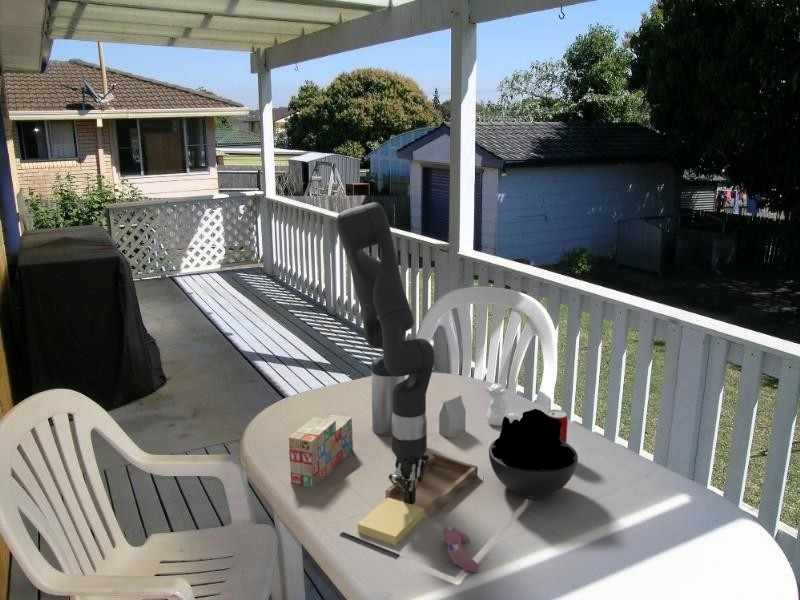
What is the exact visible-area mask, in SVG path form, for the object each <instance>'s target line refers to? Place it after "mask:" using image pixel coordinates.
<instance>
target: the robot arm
mask: <svg viewBox="0 0 800 600" xmlns="http://www.w3.org/2000/svg"><path fill="white" fill-rule="evenodd" d="M336 225H337V232H338V235H339V238H340V241H341V244H342V246H343V250H344V253H345V255H346V258H347V260H348V261H347V262H348V264H349V267H350V273H351V276H352V277H351V278H352V283H353V286H354V290H355V291H354V292H355V295H356V298H357V300H358V304H359V307H360V311H361V315H362V322H363V329H364V334H365V335H364V336H365V340H366V342H367V344H368V346H370V347H371V348H377V349H382V355H381V356H379V357H376V358H375V359H373V360H372V361H371V366H370V367H371V371H370V372H371V415H372V417H371V418H372V420H371V421H372V425H371V426H372V432H374V433H376V434H378V435H382V436H391V451H392V453H393V454H394V456H395V457H396V460H395V464H394V466H395V471H394V473H389V475H388V480H389V481H390V482H391V484H392V485H394V486H395V487H396V488H397V489H398V490H402V491H403V502H405V503H408V504H411V505H413V504H414V503H415V498H416V487H417V485H418V481H419V482H421V480H422V477H423V474H424V471H425V468H426V465H427V462H428V459H429V457H430V456H429V455H428V454H426V452H427V450H428V440H427V439H428V431H427V430H428V419H427V418H428V417H427V400H426V399H427V391H428V388H429V384H430V380H431V377H432V373H433V369H434V366H435V358H436V357H435V351H434V348H433V345H432V344H431V343H430V342H429V340H427V339H425V338H414V339H408V340H406V339H407V338H406V337H407V335H406V334H407V331H409V330H411V329H412V328H413V326H414V323H415V318H414V315H413V312H412V309H411V307H410V303H409V301H408V298H407V295H406V292H405V289H404V284H403V282H402V277H401V272H400V266H399V262H398V257H397V251H396V247H395V244H394V239H393V236H392V231H391V228H390V227H391V226H390V223H389V220H388V217H387V214H386V211H385V210H384V208H383V206H382V204H380V203H379V202H376V201H375V202H374V201H373V202H370V203H366V204H362V205H358V206H356V207H351V208H347V209H345V210H343V211H341V212H339V213H338V215H337V219H336ZM375 245H376V246H377V245H380V246H379V247H380V257H381V258H380V260H379V259H376V258H375V257H373V256H371V255H370V254H368V253H367V252H365V251H364V250H363V249H366V248H369V247H372V246H375ZM406 376H407V378H406Z"/></svg>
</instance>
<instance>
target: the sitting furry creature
mask: <svg viewBox="0 0 800 600" xmlns="http://www.w3.org/2000/svg"><path fill="white" fill-rule="evenodd" d="M485 390H486V392H487V393H489V394H488V395H489V396H490V397H491V398H492V399H491V401H490V402H489V408H488V410H487V413H486V421H487V423H488V424H489V425H490V426H492V425H493V427H500V426H501V427H502V421H503V418H504V417H507V418H509V421H510V423H512V422H513V420H516V419H517V420H519V421H520V416H519V415H518V414H515V413H513V412H511V413H509V414H507V408H508V403H506V400H505V396H506V391H505V388H504V387H503V386H502V384H501V383H493V384H491V386H485Z"/></svg>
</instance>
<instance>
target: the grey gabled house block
mask: <svg viewBox="0 0 800 600" xmlns="http://www.w3.org/2000/svg"><path fill="white" fill-rule="evenodd" d="M466 413H467V411H466V408H465V405H464V402H463V398H462V395H457V396H455V397H453V398H450V399H448V400H445V401H443V404H442V406H441V409H440V411H439V414H438V415H439V418H438V419H439V420H438V423H439V424H438V425H439V426H438V434H439V435H441V436H443V437H446V438H448V439H450V438H451V437H454V436H456V435H459V434H461V433H462V432H465V431H466V415H467V414H466Z"/></svg>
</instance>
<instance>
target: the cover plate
mask: <svg viewBox="0 0 800 600" xmlns="http://www.w3.org/2000/svg"><path fill="white" fill-rule="evenodd" d="M424 516H425V514H424V508H421V507H418V506H414V505H411V504H408V503H405V502H401V501H398V500H395V499H392V498H387V499H386V498H385V499H384V500H383V501H382V502H381V503H380V504H379V505H378V506H377V507H376V508H375V507H374V509H372V511H371V512H370V513H368V514H367V515H366V516H365V517H364V518H363V519H362V520H360V521H359V522H358V523H357V533H358V534H362V535H365V536H367V537H369V538H370V537H371V538H373V539H376V540H379V541H381V542H384V543H388V544H390V545H393V546H396V545H398V543H400V542H401V540H402V539H403V538H404V537H406V535H408V534H409V533H410V531H411V530H412V529H413V528H414V527H415V526H416V525H417V524H418V523H419V522H420V521H422V519H423V518H425V517H424Z"/></svg>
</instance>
